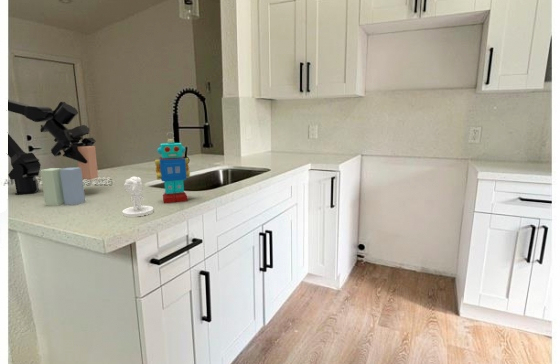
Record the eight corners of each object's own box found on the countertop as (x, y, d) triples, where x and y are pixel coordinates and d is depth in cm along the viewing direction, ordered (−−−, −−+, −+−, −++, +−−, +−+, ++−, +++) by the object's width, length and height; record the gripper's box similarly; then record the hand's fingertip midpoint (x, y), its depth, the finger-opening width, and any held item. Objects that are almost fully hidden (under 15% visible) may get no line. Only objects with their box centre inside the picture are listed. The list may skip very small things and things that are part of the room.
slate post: (64, 204, 115) (59, 169, 112) (73, 201, 119) (69, 167, 117) (76, 204, 114) (72, 169, 112) (85, 201, 119) (80, 167, 116)
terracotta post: (79, 179, 127) (76, 147, 124) (87, 176, 131) (84, 145, 128) (90, 179, 126) (87, 147, 124) (98, 177, 131) (95, 146, 128)
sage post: (45, 205, 114) (40, 170, 111) (55, 202, 118) (50, 168, 115) (57, 205, 113) (52, 170, 111) (67, 202, 118) (62, 168, 115)
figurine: (134, 219, 99) (130, 180, 96) (116, 214, 104) (112, 177, 101) (159, 211, 106) (156, 175, 104) (141, 207, 111) (138, 173, 109)
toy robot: (159, 204, 115) (153, 133, 110) (158, 199, 121) (152, 132, 115) (192, 200, 120) (188, 132, 114) (189, 196, 125) (185, 131, 120)
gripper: (54, 118, 115) (87, 150, 116) (88, 117, 133) (116, 145, 135) (36, 140, 117) (69, 171, 119) (73, 136, 135) (100, 163, 137)
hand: (90, 161), depth 127 cm, fingers closed on terracotta post, 4 cm apart
